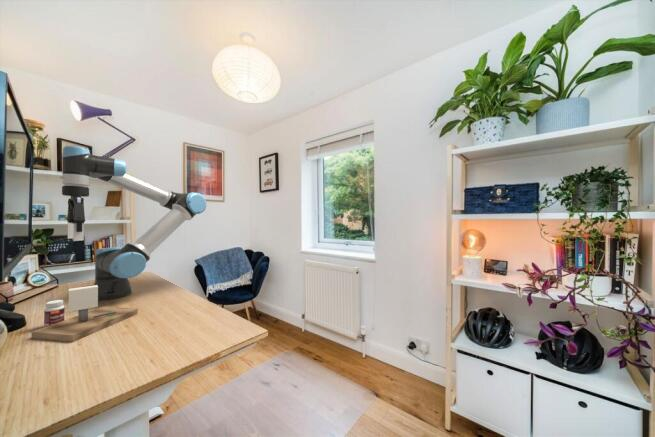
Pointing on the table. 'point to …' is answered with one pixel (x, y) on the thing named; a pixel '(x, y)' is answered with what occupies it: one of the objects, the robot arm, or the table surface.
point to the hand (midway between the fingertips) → (75, 239)
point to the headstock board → (83, 324)
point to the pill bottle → (54, 312)
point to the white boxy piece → (84, 301)
